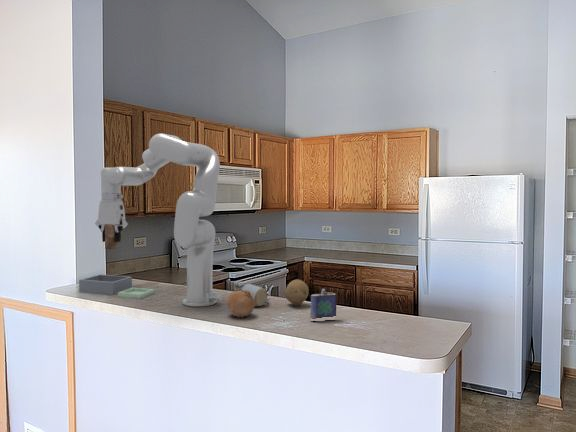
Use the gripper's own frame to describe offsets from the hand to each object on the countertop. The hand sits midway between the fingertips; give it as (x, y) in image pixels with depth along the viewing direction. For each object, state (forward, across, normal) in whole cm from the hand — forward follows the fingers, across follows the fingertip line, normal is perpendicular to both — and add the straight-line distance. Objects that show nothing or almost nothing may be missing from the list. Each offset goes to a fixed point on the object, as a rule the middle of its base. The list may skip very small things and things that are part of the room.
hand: (111, 241), depth 189 cm
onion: (+22, -64, +18) cm, 70 cm away
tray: (+21, -14, +3) cm, 25 cm away
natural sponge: (+22, -79, -2) cm, 82 cm away
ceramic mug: (+22, -64, +1) cm, 67 cm away
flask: (+22, -92, +14) cm, 95 cm away
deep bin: (+21, +3, -1) cm, 21 cm away
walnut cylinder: (+3, 0, 0) cm, 3 cm away
